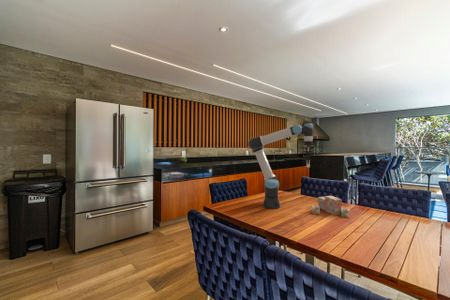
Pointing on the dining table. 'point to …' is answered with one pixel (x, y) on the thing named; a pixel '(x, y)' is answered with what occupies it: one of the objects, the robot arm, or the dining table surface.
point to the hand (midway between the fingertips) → (308, 167)
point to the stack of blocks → (330, 204)
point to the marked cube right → (345, 212)
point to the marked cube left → (316, 209)
